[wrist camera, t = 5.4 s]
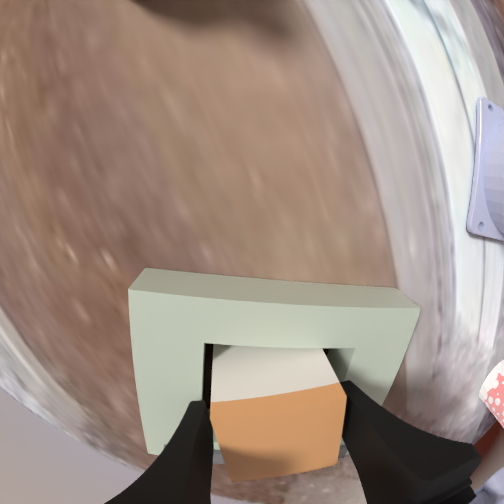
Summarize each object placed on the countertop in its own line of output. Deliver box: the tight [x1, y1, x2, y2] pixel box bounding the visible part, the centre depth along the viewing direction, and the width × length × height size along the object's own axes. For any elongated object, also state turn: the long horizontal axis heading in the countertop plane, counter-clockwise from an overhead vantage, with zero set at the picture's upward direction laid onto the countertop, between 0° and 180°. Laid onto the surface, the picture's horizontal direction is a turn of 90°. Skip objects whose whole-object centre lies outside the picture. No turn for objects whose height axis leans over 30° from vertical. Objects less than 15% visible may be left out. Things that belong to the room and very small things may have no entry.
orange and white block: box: [210, 344, 347, 482], centre depth 12 cm, size 4×4×6 cm
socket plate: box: [128, 268, 421, 464], centre depth 13 cm, size 12×10×3 cm
